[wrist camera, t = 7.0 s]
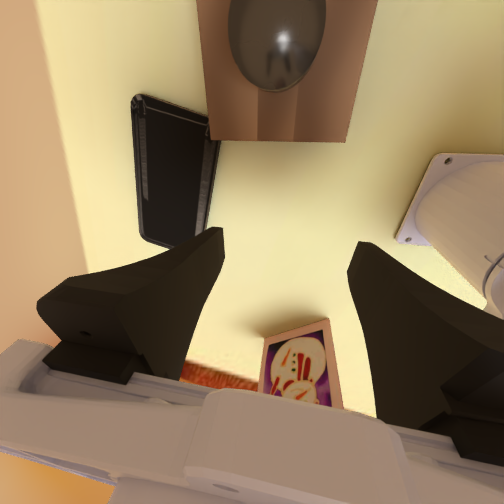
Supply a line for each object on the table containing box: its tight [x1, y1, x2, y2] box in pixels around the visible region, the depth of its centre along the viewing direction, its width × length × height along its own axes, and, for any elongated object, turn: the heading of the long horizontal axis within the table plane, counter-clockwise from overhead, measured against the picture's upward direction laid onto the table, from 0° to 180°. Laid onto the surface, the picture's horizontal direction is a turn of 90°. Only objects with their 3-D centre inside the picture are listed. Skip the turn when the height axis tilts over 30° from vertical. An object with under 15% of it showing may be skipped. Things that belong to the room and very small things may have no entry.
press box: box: [196, 0, 378, 143], centre depth 13 cm, size 9×9×4 cm
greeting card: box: [258, 318, 344, 410], centre depth 26 cm, size 11×7×15 cm, turn 129°
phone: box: [131, 94, 221, 249], centre depth 21 cm, size 8×1×15 cm
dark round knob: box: [228, 0, 326, 93], centre depth 11 cm, size 4×4×7 cm
